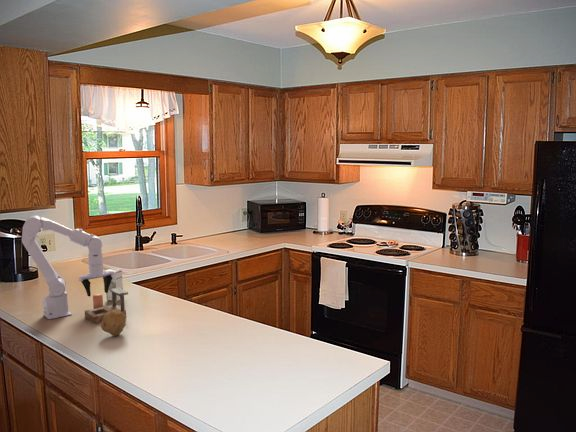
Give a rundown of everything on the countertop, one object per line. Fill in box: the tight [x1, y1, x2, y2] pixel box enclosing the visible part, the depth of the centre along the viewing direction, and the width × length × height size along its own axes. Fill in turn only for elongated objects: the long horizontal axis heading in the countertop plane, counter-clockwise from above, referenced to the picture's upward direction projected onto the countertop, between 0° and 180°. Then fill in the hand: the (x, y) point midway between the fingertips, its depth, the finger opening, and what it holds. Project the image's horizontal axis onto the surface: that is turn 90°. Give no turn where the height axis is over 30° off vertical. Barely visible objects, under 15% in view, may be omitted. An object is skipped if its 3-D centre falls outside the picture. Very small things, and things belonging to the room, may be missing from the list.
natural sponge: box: [100, 310, 127, 337], centre depth 198 cm, size 9×9×10 cm
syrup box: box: [104, 268, 124, 302], centre depth 245 cm, size 6×6×14 cm
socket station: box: [84, 287, 129, 325], centre depth 220 cm, size 15×11×10 cm
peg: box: [92, 293, 104, 309], centre depth 229 cm, size 4×4×7 cm
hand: (97, 294), depth 229 cm, fingers open, 7 cm apart
